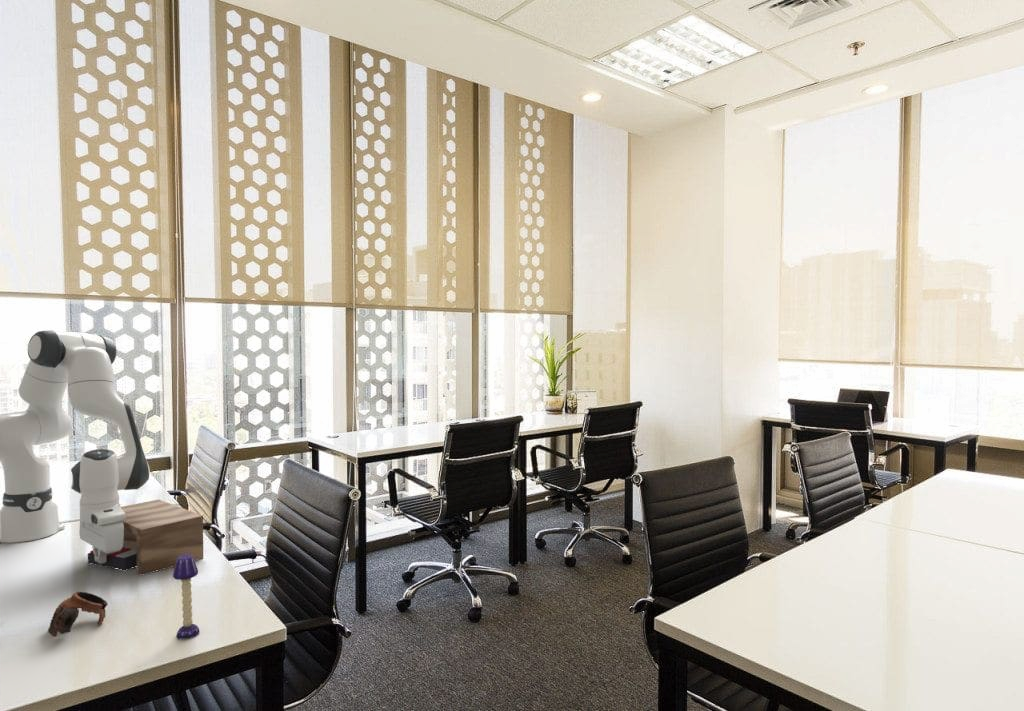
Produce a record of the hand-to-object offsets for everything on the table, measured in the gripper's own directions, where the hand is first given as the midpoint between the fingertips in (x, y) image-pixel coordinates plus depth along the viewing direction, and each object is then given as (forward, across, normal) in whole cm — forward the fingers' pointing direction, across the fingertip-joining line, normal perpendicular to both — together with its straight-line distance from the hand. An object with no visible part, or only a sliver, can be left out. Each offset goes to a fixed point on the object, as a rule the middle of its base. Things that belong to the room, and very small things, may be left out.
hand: (100, 562), depth 164 cm
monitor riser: (+2, 0, +13) cm, 13 cm away
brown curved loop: (+2, +34, -16) cm, 38 cm away
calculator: (+2, -2, +6) cm, 7 cm away
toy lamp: (+2, +56, -3) cm, 56 cm away
